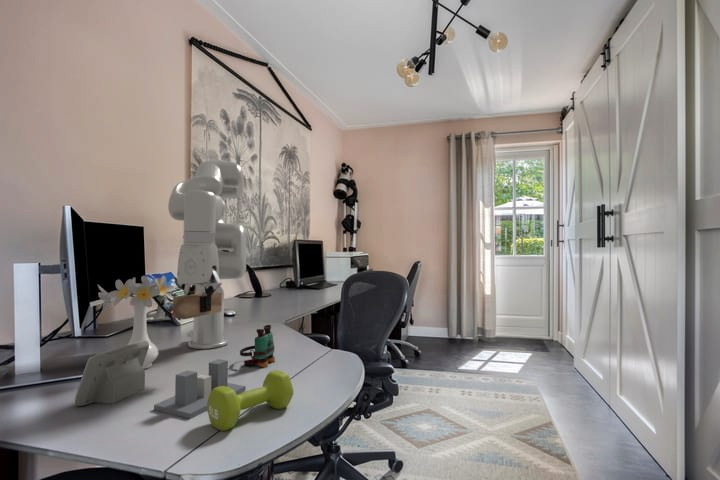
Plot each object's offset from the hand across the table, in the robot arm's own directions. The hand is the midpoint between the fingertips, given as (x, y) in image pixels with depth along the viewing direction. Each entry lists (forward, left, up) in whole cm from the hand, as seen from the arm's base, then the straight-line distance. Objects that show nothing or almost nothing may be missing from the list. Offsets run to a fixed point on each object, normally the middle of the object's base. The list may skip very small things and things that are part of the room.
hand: (198, 310), depth 97 cm
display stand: (+12, -10, -17) cm, 23 cm away
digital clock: (-8, -16, -17) cm, 25 cm away
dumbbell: (+27, -12, -17) cm, 34 cm away
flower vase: (-21, -1, -17) cm, 27 cm away
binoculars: (+6, +16, -17) cm, 24 cm away
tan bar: (0, 0, -1) cm, 1 cm away
